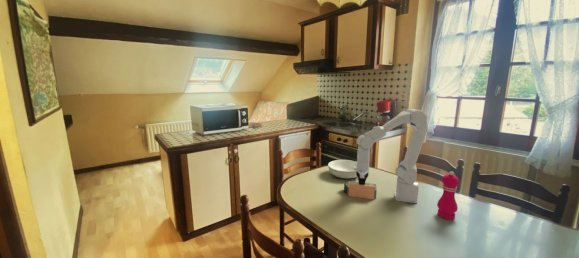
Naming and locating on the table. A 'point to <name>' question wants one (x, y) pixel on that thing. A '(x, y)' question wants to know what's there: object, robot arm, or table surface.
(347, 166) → the serving bowl
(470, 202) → the table surface
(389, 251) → the table surface
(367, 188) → the side door
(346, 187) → the camera housing
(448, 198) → the pepper mill
